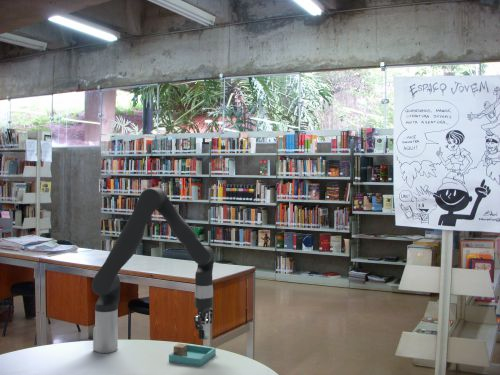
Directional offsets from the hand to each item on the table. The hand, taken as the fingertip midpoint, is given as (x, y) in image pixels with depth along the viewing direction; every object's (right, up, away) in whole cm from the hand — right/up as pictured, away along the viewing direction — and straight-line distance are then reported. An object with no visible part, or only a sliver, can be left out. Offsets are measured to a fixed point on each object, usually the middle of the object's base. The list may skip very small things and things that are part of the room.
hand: (203, 337), depth 206 cm
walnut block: (-9, -8, -3) cm, 12 cm away
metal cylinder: (0, 0, 0) cm, 0 cm away
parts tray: (-4, -8, -1) cm, 9 cm away
